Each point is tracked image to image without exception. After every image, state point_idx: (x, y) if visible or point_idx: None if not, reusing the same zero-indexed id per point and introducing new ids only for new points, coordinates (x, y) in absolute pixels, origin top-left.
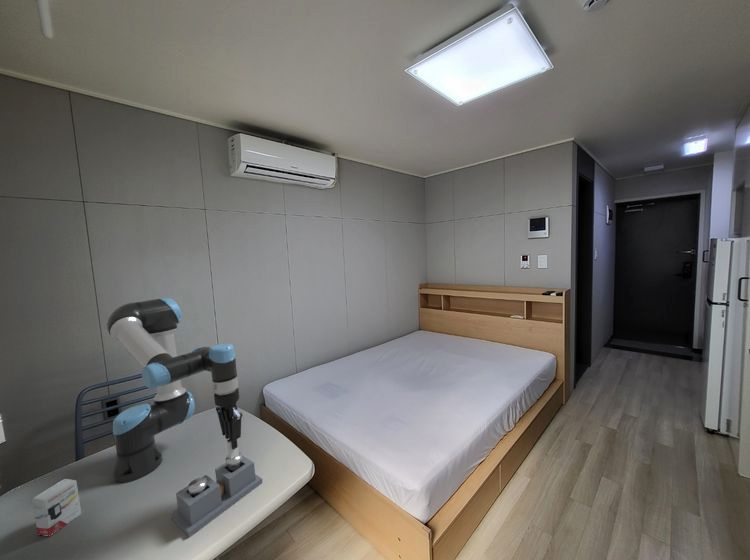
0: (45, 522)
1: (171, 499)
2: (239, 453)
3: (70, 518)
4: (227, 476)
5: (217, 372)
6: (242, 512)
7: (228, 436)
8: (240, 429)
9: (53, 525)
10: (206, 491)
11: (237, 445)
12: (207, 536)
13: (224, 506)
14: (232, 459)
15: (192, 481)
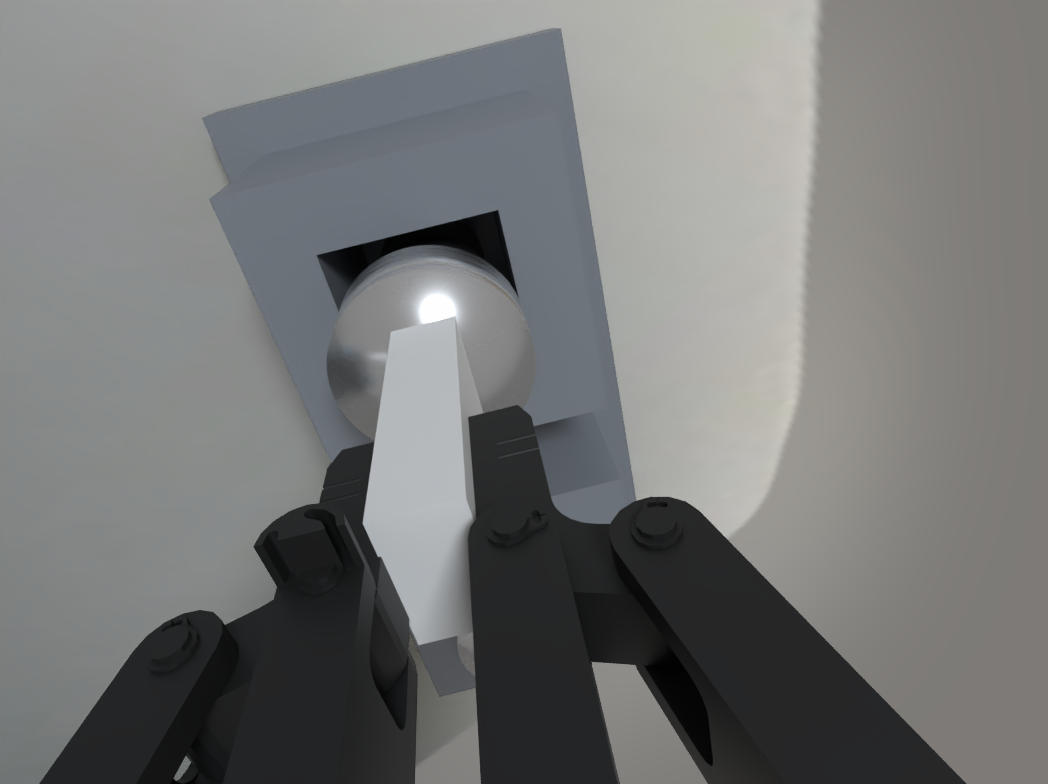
0: None
1: (236, 582)
2: (417, 292)
3: None
4: (556, 410)
5: None
6: (721, 279)
7: (407, 662)
8: (880, 706)
9: None
10: None
11: (532, 424)
12: (708, 467)
13: (616, 379)
14: (484, 394)
15: (469, 664)
